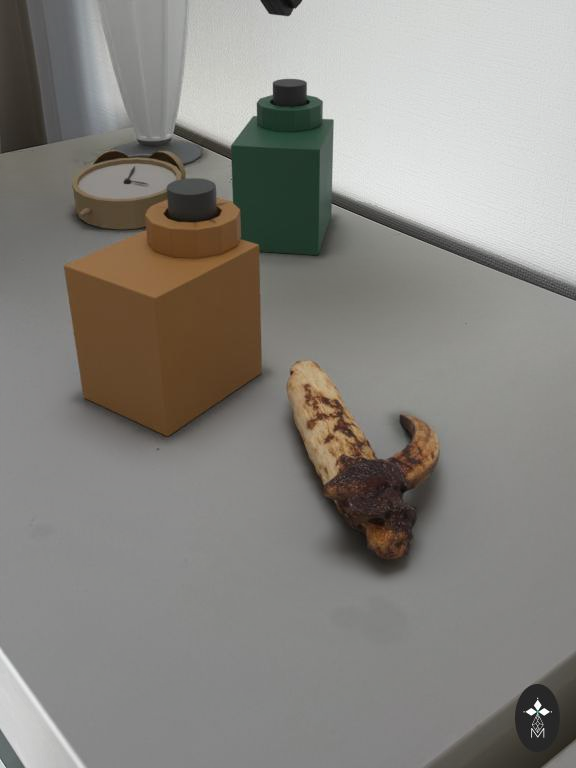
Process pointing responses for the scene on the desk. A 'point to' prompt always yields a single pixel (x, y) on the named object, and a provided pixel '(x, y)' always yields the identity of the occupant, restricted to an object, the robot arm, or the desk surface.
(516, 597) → the desk surface
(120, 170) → the alarm clock
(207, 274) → the amber bottle
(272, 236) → the green bottle
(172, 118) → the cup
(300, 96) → the short charcoal cylinder
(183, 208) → the dark grey cylinder
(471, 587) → the desk surface
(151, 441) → the desk surface
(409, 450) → the lashed bone hook
